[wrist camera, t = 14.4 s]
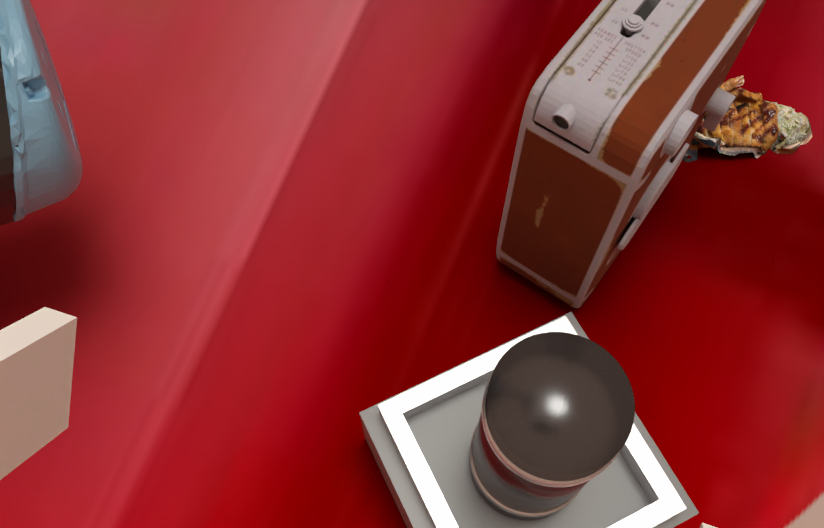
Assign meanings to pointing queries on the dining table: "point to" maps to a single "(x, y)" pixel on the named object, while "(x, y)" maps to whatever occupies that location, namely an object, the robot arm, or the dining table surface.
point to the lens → (549, 424)
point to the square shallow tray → (450, 466)
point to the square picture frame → (477, 371)
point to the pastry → (752, 126)
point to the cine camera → (613, 133)
